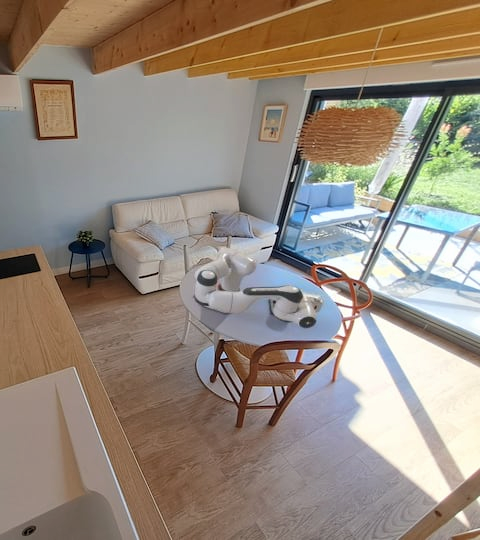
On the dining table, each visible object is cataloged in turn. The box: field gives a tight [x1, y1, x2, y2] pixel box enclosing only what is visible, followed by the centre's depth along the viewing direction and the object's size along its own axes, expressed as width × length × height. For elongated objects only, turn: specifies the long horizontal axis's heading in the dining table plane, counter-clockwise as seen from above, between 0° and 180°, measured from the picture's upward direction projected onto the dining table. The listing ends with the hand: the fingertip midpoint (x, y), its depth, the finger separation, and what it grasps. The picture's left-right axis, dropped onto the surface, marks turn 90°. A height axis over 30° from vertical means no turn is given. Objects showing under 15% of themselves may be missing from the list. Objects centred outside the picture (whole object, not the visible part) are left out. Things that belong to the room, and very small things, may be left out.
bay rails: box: [269, 298, 277, 315], centre depth 184 cm, size 18×16×1 cm
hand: (297, 289), depth 157 cm, fingers closed
